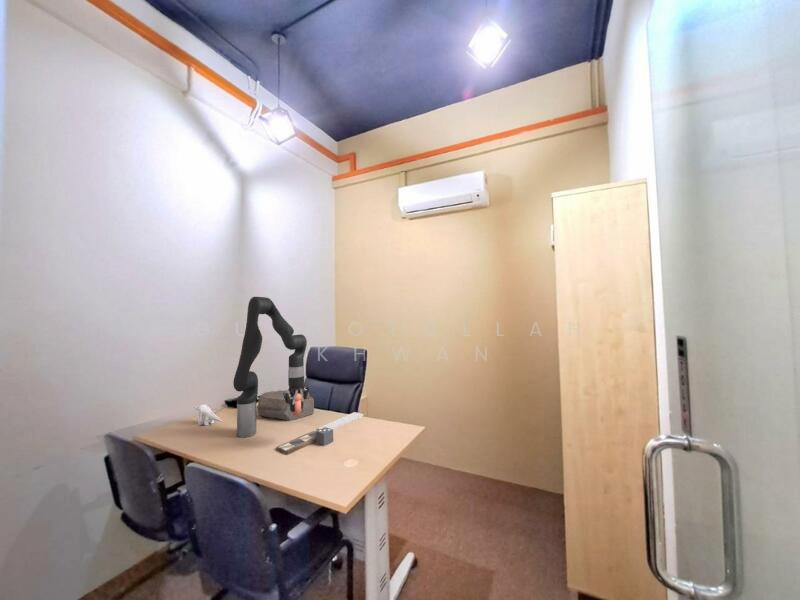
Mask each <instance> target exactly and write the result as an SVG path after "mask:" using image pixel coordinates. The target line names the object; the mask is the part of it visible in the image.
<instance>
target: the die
mask: <svg viewBox="0 0 800 600" xmlns="http://www.w3.org/2000/svg"><path fill="white" fill-rule="evenodd" d="M315 431H316V442H315V444H317V445H320V446H323V447H325V446H328V445H329V444H331V442H332V443H333V442H334V430H333V429H330V428H326V427H324V428H322V429H320V430H315Z"/></svg>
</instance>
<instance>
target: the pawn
mask: <svg viewBox="0 0 800 600" xmlns="http://www.w3.org/2000/svg"><path fill="white" fill-rule="evenodd" d="M292 397H293V396H292ZM301 398H302V396H301V394H300V393H298V394H297V396H296V399H295V403H294V404H295V412H293V416H298V415H301Z"/></svg>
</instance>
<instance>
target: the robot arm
mask: <svg viewBox="0 0 800 600" xmlns="http://www.w3.org/2000/svg"><path fill="white" fill-rule="evenodd" d="M260 315H266V316H268V317H269V318H270V319H271V324H272V328H273V329H274V331H275V332H276V333H277V334H278V335H279V336H280V338H281V341H282V342H283V346H285V348H286V349H287V350H289V351H292V350H293V351H294V352H293V353H291V354H290V355H289V356H288V369H287V370H288V371H287V378H288V379H287V380H288V382H287V385H288V389H287V390H288V391H287V392H284V393H283V395H284V398H285V401H286V403H287V404H290V411H291V412H295V404H294V403H295V399H296V396H297V394H298V393H300V394H301V396H302V398H301V409H303V401H304V400H305V399H307V395H308V392H309V391H310V387H309V386H305V367H304V364H305V363H304V362H305V361H304V357H305V353H306V350H307V344H308V342H307V341H308V340H307V338H306V336H305V335H304V334H294V332H295V331H294V328H293V327H292V325H290V324H289V323H288V322H287V321H286V319H285V318H284V317H283V316H282V314H281V312H280V311H279V309H278V308H277V307H276V305H275V304H274V302H273V300H272V299H270V298H269V297H266V296H252V297H251V298H250V299H249V301H248V305H247V313H246V316H247V317H246V323H245V331H244V337H243V339H242V345H241V351H240V355H239V359H238V360H239V361H238V364H237V367H236V371H235V374H234V377H233V382H232V383H233V388H234V390H235V391H236V392H239V393H240V392H242V393H241V394H240V395H239V396H238V397H237V398H236V435H237V437H238V438H247V437H252V436H254V435H256V434H257V396H258V391H259V377H258V375H257V373H256V372H254V371H252V370H250V369H251V368H252V367H251V366H253V363H254V361H255V360H256V358H258V356H259V354H260V353H261V349H262V345H263V344H262V343H263V334H262V333H261V330H260V327H259V323H258V322H259V316H260ZM289 393H290V397H289ZM292 396H293V397H292Z"/></svg>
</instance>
